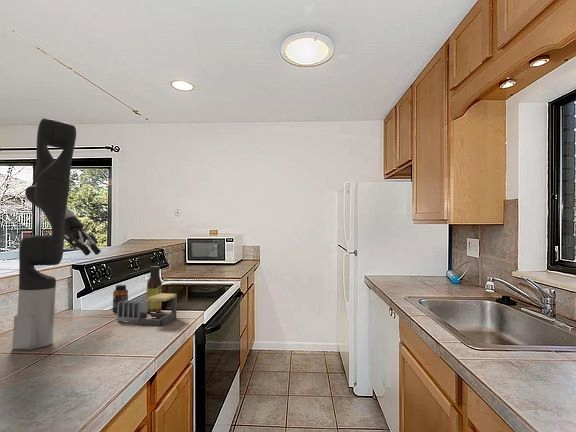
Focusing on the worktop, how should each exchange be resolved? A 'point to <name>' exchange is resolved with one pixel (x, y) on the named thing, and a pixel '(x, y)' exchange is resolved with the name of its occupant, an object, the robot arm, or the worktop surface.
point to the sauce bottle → (154, 289)
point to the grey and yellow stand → (164, 316)
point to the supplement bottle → (119, 296)
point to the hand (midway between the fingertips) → (93, 253)
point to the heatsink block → (132, 310)
